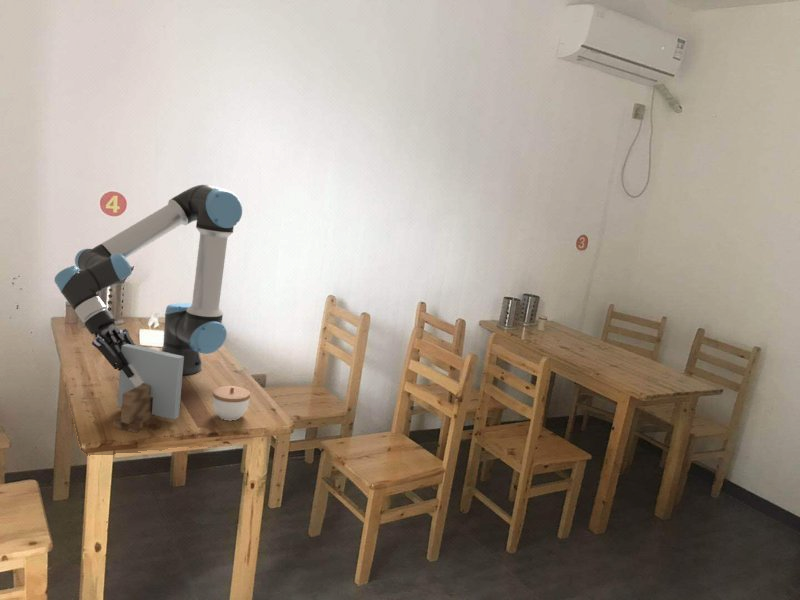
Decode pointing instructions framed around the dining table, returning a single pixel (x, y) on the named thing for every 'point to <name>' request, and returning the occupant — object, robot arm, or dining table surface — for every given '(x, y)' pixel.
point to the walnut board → (135, 409)
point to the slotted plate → (155, 378)
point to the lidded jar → (230, 402)
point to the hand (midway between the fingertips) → (143, 383)
